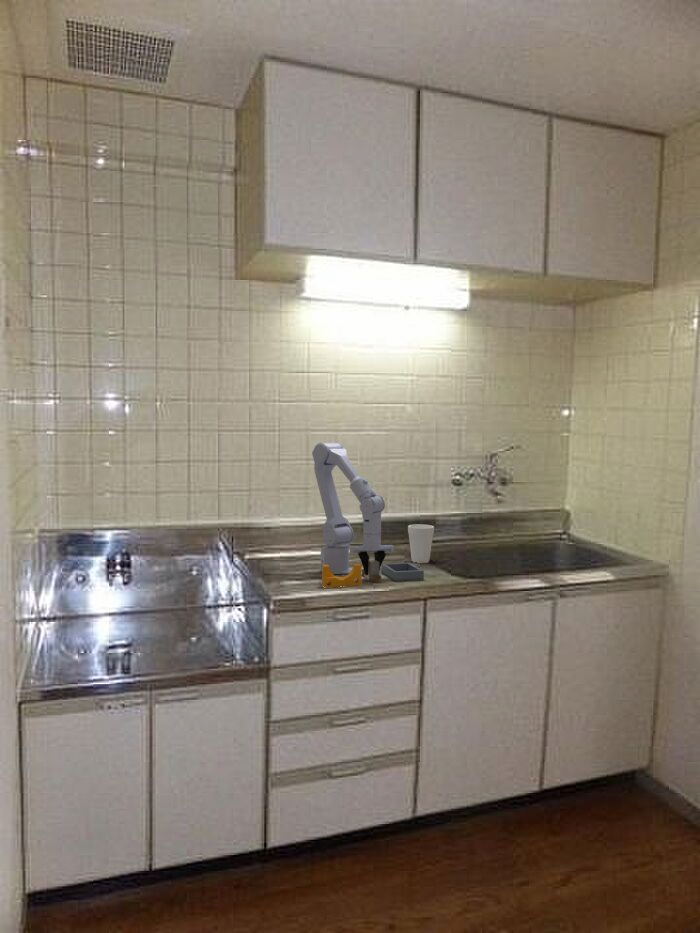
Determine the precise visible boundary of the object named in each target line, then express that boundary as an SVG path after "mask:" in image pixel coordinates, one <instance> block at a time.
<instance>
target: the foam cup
mask: <svg viewBox="0 0 700 933" xmlns="http://www.w3.org/2000/svg"><path fill="white" fill-rule="evenodd" d="M407 533H408V538H409V539H408V541H409V548H410V556H411V562H412V561H413V562H412V563H415V562H417V563H416V564H427V563H429V562H430V558H431V551H432V545H433V539H434V538H433V537H434V534H435V526H433V525H431V524H430V525H429V524H409V525H408V526H407Z"/></svg>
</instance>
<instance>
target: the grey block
mask: <svg viewBox="0 0 700 933" xmlns="http://www.w3.org/2000/svg"><path fill="white" fill-rule="evenodd" d="M373 575H380V571H379V562H378V561H376V560H375V558H372V557H369V562H368V575H365V574H364V576H363V577H364V578H365V579H366V580H368V581H369V582H371V576H373Z"/></svg>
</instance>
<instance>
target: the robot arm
mask: <svg viewBox="0 0 700 933" xmlns="http://www.w3.org/2000/svg"><path fill="white" fill-rule="evenodd" d="M311 455H312V457H313V463H314V470H313V471H314V474H315V479H316V482H317V486H318V490H319V494H320V495H319V496H320V498H321V502H322V507H323V510H324V514H325V517H326V521H325V522H324V524H323V525H322V530H323V531H322V532H323V534H322V538H323V542H324V543H325V545H326V546H322V547H320V568H319V570H320V572H322V565H329V566H330V571H331V573H332V574H333V575H345V574H346V575H348V574H349V573H350V572H351V571H352V569H351V570H350V554H351V555H354V554H357V555H358V557H359V560H360V562H361V566H362V567H363V568H362V569H364V574H365V575H368V562H369V558H370V555H369V554H368V553H373V554H374V559H375V560H376V561H378V562H379V572H380V571H381V570H380V569H381V568H382V564H383V562H384V560H385V558H386V554H387V552H390V553H394V552H395V550H394V549H395V546H394V545H393V544H381V542H382V539H381V538H382V512H383V511H384V510H385V508H386V503H385V499H384V498H383V496H382V495H379V494H377V493H376V492H375V491H374V490H373V488H372V486H371V485H370V484H369V481H368V479H367V478H365V477H363V476H362V477H361V476H359V474H358V472H357V470H356V469H355V467H354V465H353V463H352V462H351V461H350V459H349V457H348V451H347V449H346V448H345V447H344V445H343V444H342V443H341V442H338V441H337V442H318V443H317V444H316V445H315V446H314V448H313V450H312V453H311ZM336 466H337V468H338V469H339V470H340V471H341V472H342V474H343V475H344V476H345V477H346V479H347V480H348V481H349V482H350V485H349V489H350V490H351V491H352V493H353V494H354V496H355V497H356V499H357V500H358V501H359V503H360V504H359V509H360V512H361V516H362V520H363V521H362V522H363V524H362V526H363V528H362V529H363V530H362V535H363V536H362V543H363V544H362V545H356V546H351V543H352V542H353V540H354V537H355V533H354V529H353V527H352V526H351V525H350V524H351V523H350V521H349V520H348V519H347V518H346V517H345V516H343V512H342V508H341V505H340V500H339V496H338V492H337V488H336V486H335V482H334V478H333V474H332V473H333V472H332V471H333V470H334V468H335V467H336Z"/></svg>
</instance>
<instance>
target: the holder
mask: <svg viewBox="0 0 700 933" xmlns="http://www.w3.org/2000/svg"><path fill="white" fill-rule="evenodd" d="M361 576H362V577H364V569H363V568H361ZM370 582H371V583H372V584H374V583H375V584H377V583H378V582H379V583H382V575H380V574H379V575H373V576H371V581H370Z"/></svg>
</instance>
